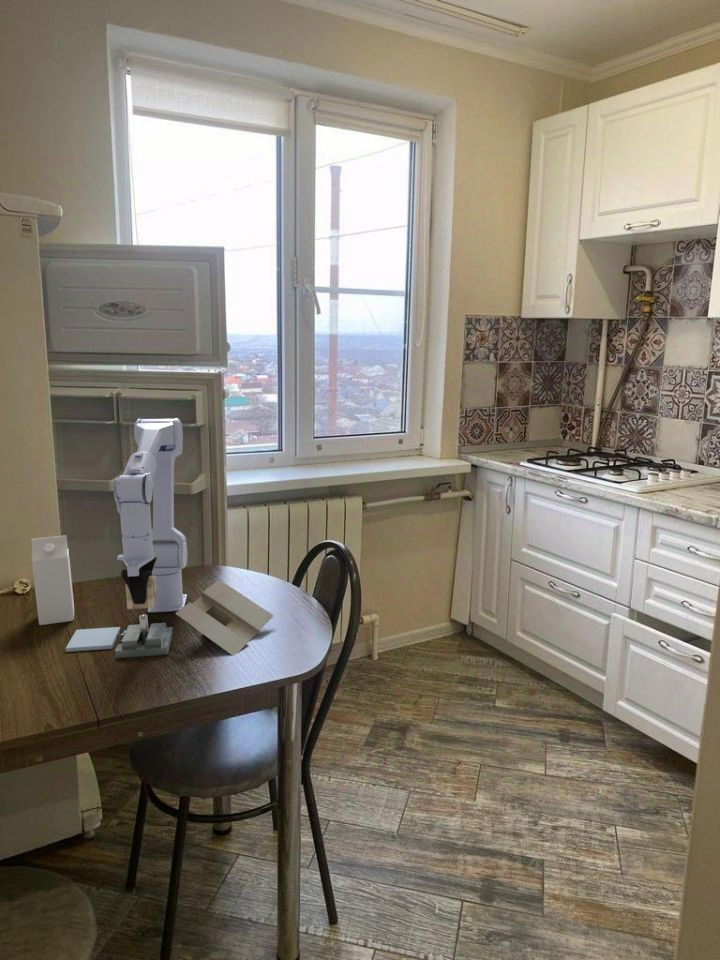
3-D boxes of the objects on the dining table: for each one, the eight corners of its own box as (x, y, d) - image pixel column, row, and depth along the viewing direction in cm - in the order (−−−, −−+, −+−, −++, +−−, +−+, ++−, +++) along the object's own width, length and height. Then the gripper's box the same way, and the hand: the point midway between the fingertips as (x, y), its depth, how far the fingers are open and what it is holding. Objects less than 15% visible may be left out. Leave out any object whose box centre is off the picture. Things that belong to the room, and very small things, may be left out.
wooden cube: (131, 599, 145) (129, 576, 144) (156, 598, 145) (154, 575, 144) (127, 609, 140) (125, 585, 139) (153, 607, 141) (151, 584, 139)
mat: (76, 633, 151) (76, 629, 150) (120, 630, 152) (120, 626, 152) (66, 651, 142) (65, 648, 142) (112, 648, 143) (111, 645, 143)
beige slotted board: (257, 635, 158) (210, 589, 159) (276, 614, 154) (227, 567, 155) (215, 678, 144) (163, 627, 145) (234, 656, 140) (180, 604, 141)
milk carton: (41, 614, 161) (32, 534, 157) (74, 609, 163) (66, 531, 159) (39, 626, 154) (29, 543, 150) (73, 621, 157) (65, 539, 153)
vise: (122, 636, 149) (120, 608, 147) (173, 633, 150) (171, 605, 149) (113, 658, 139) (110, 627, 138) (167, 654, 140) (165, 624, 139)
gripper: (122, 524, 146) (127, 586, 149) (108, 545, 132) (114, 613, 135) (157, 523, 147) (161, 584, 150) (147, 543, 133) (152, 611, 136)
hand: (141, 598), depth 142 cm, fingers closed on wooden cube, 5 cm apart
